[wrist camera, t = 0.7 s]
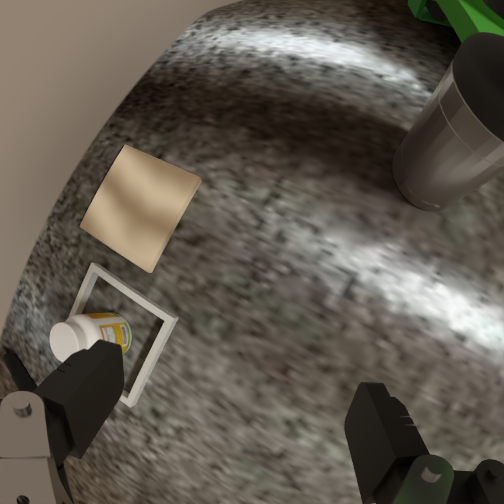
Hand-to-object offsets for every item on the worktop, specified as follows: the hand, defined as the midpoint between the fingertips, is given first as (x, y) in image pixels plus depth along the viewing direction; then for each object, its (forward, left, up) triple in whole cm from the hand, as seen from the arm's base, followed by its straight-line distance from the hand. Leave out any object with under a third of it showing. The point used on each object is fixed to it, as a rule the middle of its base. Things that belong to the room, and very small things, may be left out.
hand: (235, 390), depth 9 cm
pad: (-4, -21, -23) cm, 31 cm away
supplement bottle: (+11, -16, -23) cm, 30 cm away
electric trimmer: (+29, -24, -23) cm, 44 cm away
